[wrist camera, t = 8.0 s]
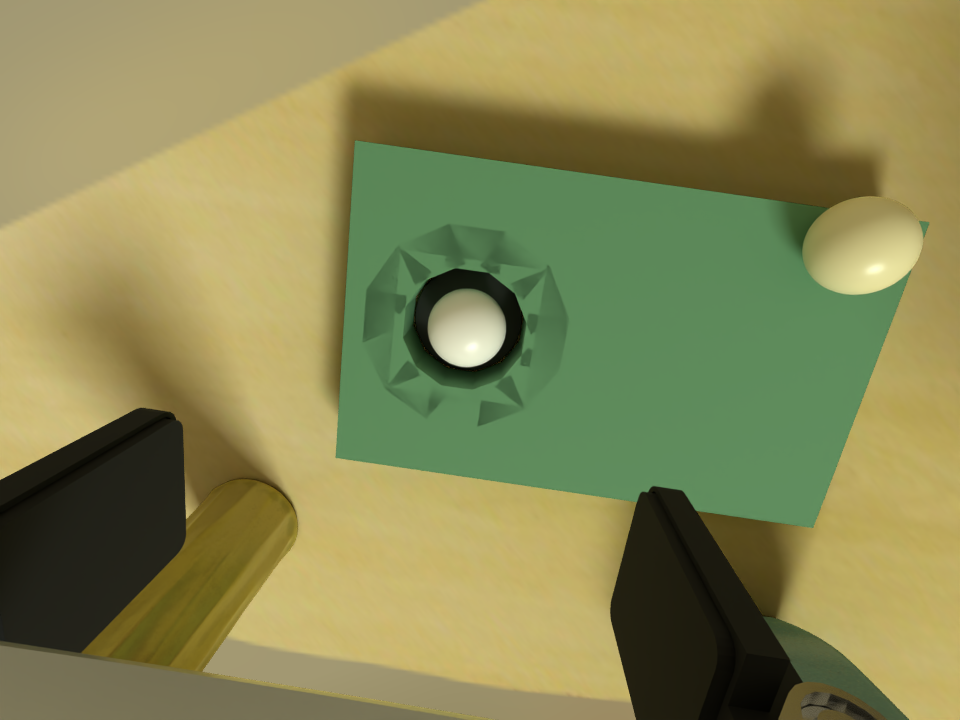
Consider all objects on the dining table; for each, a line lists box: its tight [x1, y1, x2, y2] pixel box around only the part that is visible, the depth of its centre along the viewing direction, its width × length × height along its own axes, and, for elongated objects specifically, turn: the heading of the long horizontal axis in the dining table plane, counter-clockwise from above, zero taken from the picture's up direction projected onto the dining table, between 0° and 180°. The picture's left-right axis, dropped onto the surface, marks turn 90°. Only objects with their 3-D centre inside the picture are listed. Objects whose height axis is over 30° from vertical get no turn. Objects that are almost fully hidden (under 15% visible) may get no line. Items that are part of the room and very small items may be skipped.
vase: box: [82, 479, 298, 672], centre depth 25 cm, size 6×6×14 cm
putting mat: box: [336, 140, 930, 528], centre depth 26 cm, size 26×16×3 cm, turn 82°
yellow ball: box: [802, 196, 923, 295], centre depth 21 cm, size 4×4×4 cm
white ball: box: [428, 289, 506, 367], centre depth 26 cm, size 4×4×4 cm
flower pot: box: [764, 617, 909, 720], centre depth 29 cm, size 9×9×9 cm
